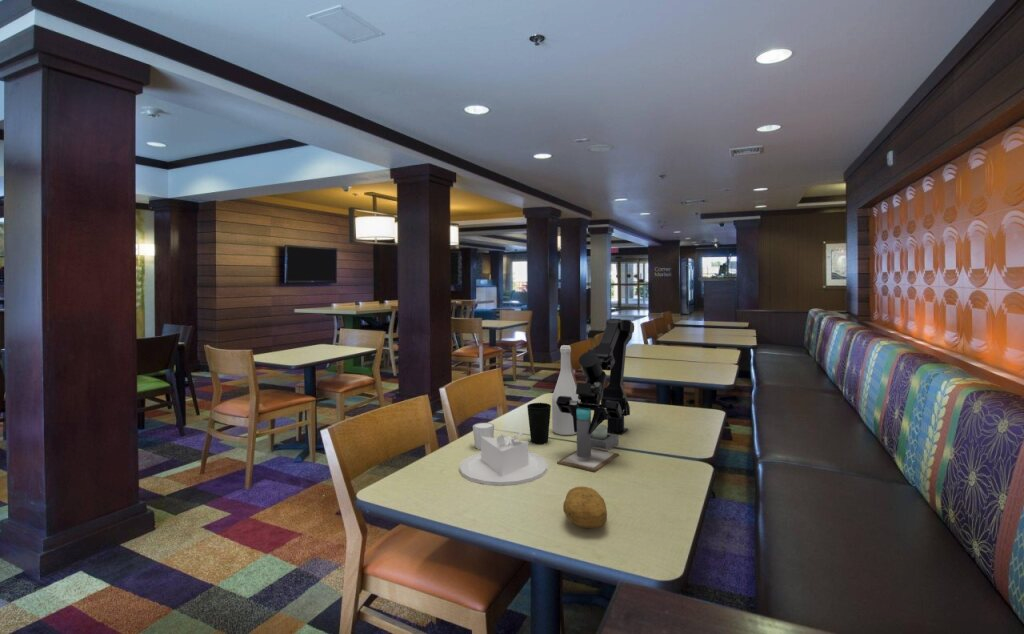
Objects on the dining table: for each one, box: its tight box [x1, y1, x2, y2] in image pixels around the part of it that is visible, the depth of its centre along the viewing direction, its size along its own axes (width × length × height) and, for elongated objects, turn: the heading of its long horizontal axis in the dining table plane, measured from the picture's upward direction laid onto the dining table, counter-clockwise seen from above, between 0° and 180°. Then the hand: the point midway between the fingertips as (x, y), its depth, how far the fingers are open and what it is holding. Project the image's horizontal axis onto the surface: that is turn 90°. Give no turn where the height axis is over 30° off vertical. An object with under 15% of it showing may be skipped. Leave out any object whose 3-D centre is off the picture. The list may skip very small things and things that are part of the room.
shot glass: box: [472, 422, 495, 450], centre depth 164 cm, size 7×7×7 cm
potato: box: [562, 485, 608, 529], centre depth 113 cm, size 9×13×7 cm
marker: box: [576, 408, 592, 458], centre depth 148 cm, size 4×4×14 cm
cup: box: [526, 402, 552, 445], centre depth 168 cm, size 8×8×12 cm
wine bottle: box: [551, 344, 580, 436], centre depth 177 cm, size 10×10×30 cm
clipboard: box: [556, 446, 620, 473], centre depth 151 cm, size 16×12×1 cm
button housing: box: [591, 432, 619, 451], centre depth 163 cm, size 9×9×3 cm
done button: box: [591, 424, 608, 440], centre depth 163 cm, size 5×5×4 cm
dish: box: [458, 432, 548, 487], centre depth 145 cm, size 25×25×11 cm
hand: (582, 432), depth 147 cm, fingers closed on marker, 4 cm apart
